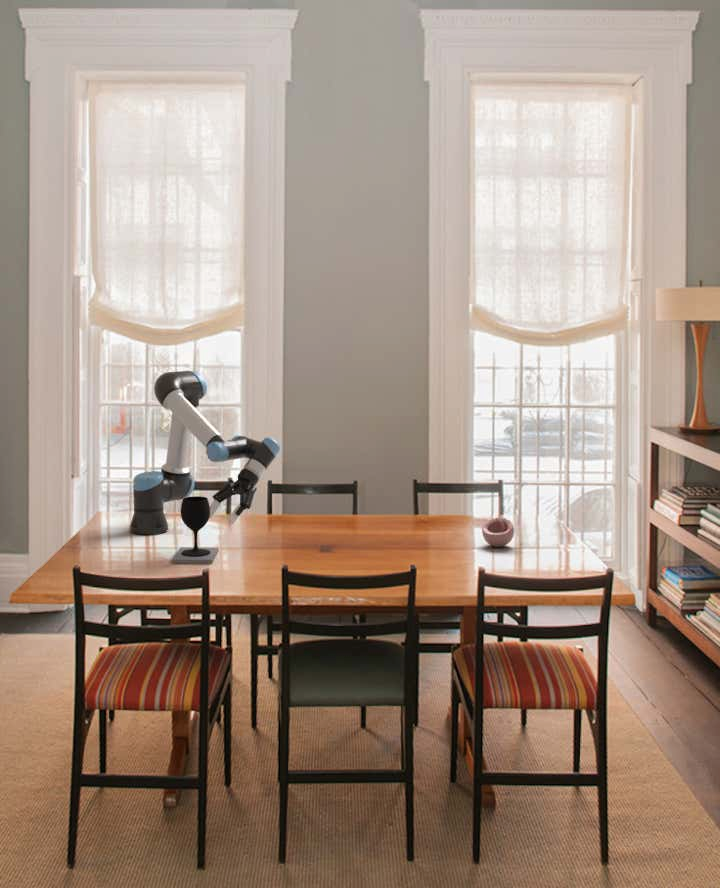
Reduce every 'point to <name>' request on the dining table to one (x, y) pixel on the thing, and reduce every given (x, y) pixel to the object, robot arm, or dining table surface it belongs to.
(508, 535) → the mortar and pestle
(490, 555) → the dining table surface
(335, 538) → the dining table surface
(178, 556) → the serving board
